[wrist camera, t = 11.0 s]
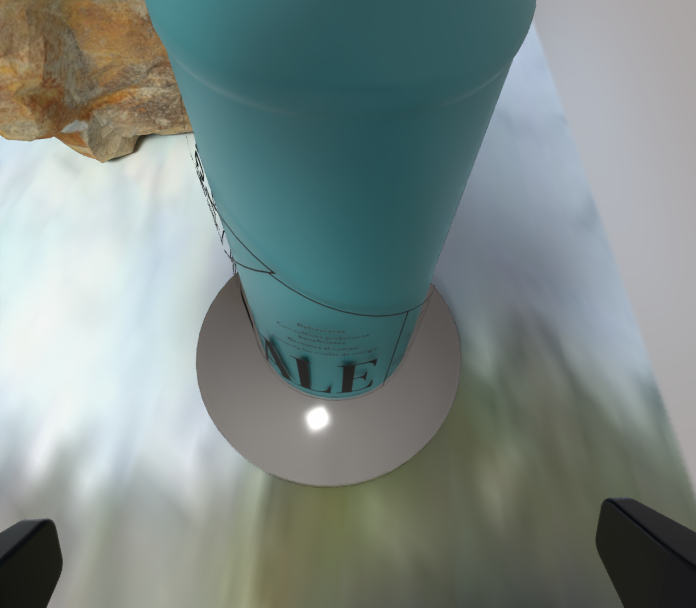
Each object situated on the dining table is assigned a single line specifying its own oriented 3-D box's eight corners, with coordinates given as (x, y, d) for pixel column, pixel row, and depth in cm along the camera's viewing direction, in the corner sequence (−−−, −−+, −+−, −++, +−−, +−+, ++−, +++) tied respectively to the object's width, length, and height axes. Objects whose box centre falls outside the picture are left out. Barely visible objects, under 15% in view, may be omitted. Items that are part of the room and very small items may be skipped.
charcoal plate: (506, 368, 22) (515, 358, 21) (310, 555, 18) (309, 555, 17) (343, 216, 26) (344, 201, 25) (154, 340, 22) (145, 329, 21)
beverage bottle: (383, 274, 23) (561, -661, 5) (425, 401, 20) (1177, -817, 2) (252, 298, 22) (-62, -733, 4) (274, 435, 19) (-479, -1164, 1)
